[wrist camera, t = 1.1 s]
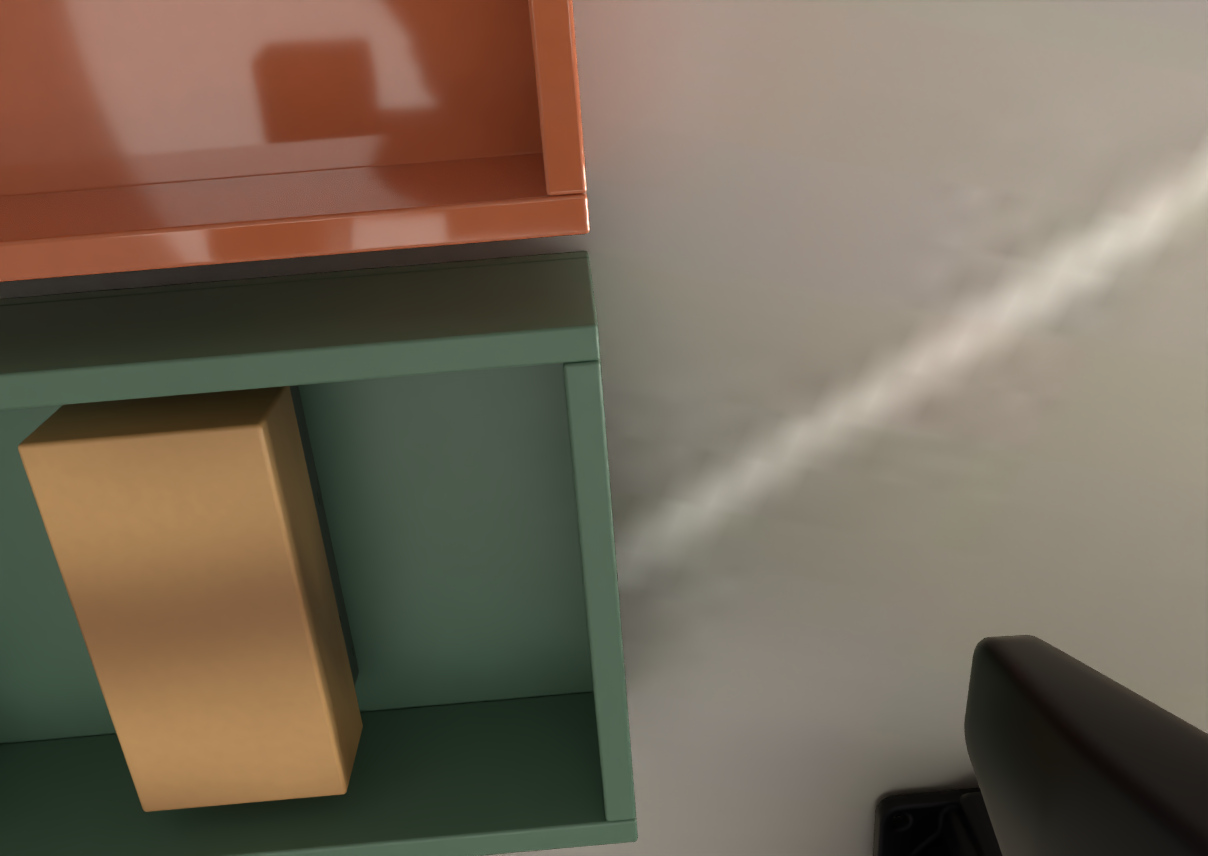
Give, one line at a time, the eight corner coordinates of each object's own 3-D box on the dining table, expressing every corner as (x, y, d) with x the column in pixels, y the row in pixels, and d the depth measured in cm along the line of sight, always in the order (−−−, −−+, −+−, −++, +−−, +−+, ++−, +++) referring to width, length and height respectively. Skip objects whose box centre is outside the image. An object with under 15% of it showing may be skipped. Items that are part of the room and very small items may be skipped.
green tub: (623, 694, 24) (638, 842, 20) (-18, 751, 24) (-135, 912, 20) (588, 249, 20) (598, 325, 16) (-202, 315, 19) (-403, 408, 15)
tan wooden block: (375, 681, 23) (346, 795, 20) (198, 696, 23) (142, 814, 20) (307, 351, 20) (261, 424, 17) (100, 368, 20) (13, 445, 17)
